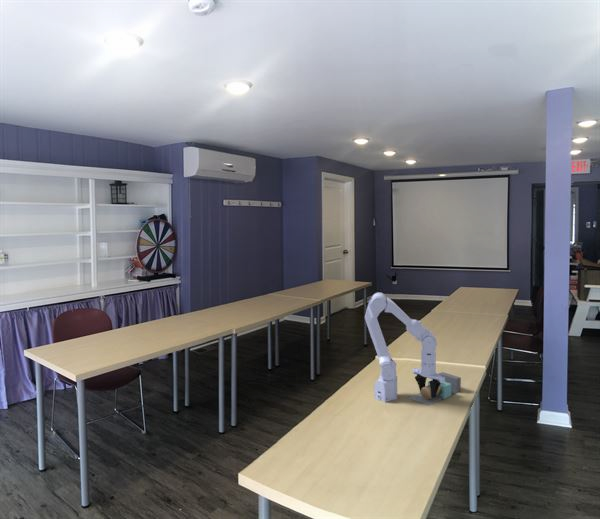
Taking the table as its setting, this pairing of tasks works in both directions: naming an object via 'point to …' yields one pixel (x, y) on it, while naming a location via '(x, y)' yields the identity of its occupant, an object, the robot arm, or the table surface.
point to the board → (427, 399)
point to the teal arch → (445, 389)
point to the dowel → (429, 392)
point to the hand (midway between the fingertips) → (428, 395)
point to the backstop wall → (452, 381)
